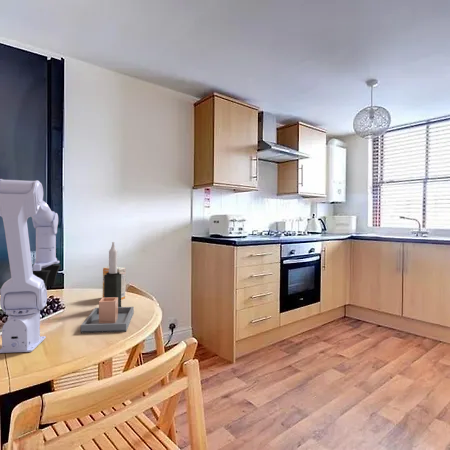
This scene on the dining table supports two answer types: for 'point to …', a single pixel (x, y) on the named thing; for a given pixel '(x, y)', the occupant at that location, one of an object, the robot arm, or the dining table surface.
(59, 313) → the dining table surface
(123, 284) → the supplement box
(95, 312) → the tray
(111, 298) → the cup
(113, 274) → the candle
